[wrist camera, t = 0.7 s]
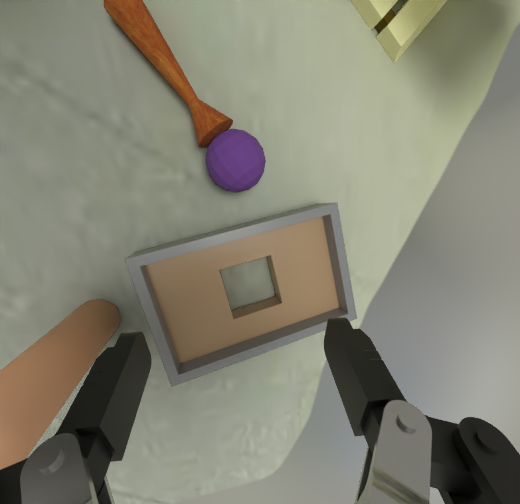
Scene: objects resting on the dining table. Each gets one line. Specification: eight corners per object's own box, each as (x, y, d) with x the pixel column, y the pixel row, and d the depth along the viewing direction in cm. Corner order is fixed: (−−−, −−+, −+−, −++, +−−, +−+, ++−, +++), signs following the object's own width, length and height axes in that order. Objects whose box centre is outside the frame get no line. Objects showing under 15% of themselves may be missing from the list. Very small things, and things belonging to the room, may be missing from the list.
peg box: (136, 251, 28) (124, 259, 23) (318, 203, 32) (337, 202, 27) (175, 361, 31) (171, 386, 26) (337, 305, 35) (357, 318, 30)
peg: (68, 306, 27) (-106, 434, 12) (112, 294, 28) (4, 398, 12) (84, 342, 28) (-57, 506, 12) (126, 329, 29) (41, 467, 13)
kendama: (146, -48, 21) (285, 160, 24) (151, 17, 26) (264, 179, 30) (78, -25, 19) (238, 195, 23) (99, 39, 25) (225, 207, 28)
